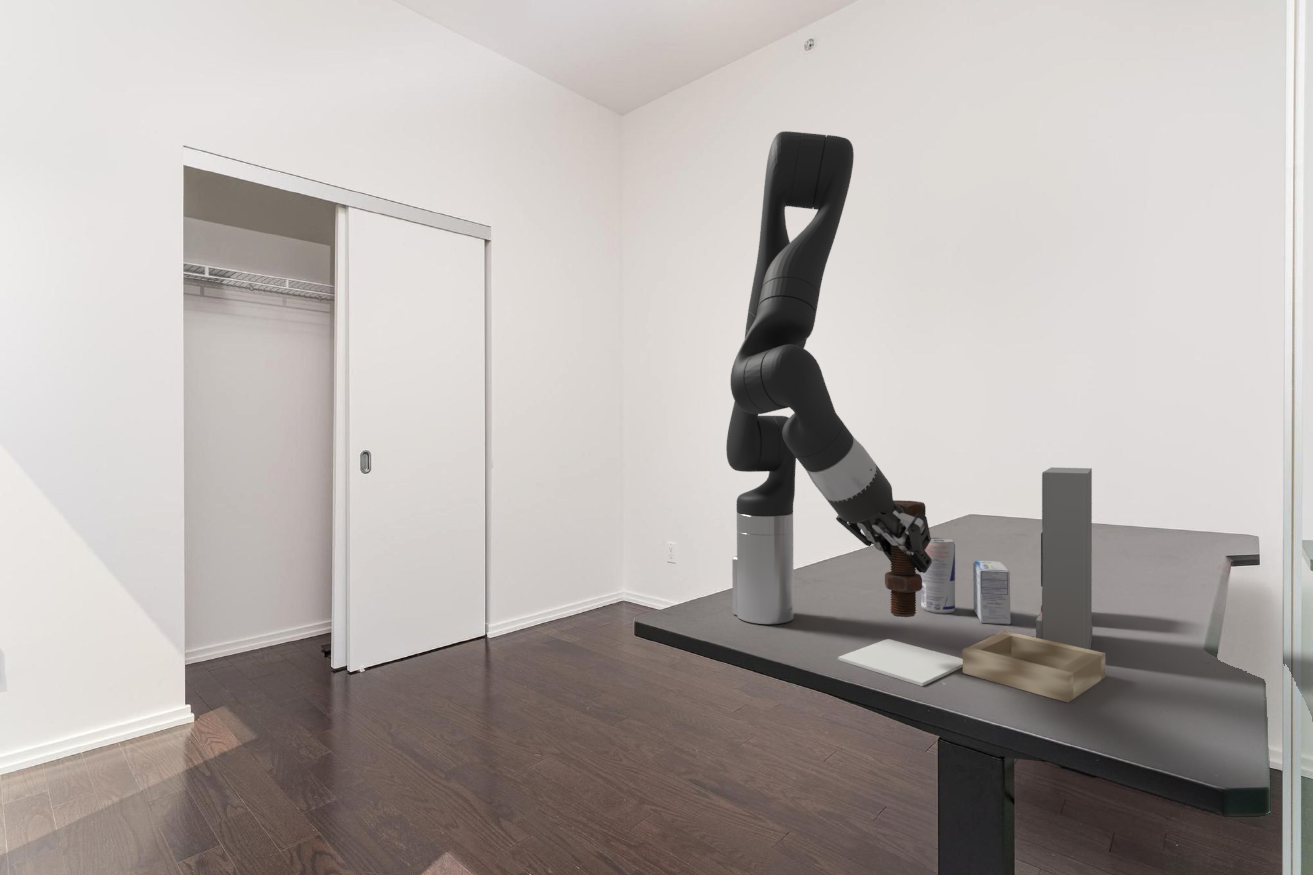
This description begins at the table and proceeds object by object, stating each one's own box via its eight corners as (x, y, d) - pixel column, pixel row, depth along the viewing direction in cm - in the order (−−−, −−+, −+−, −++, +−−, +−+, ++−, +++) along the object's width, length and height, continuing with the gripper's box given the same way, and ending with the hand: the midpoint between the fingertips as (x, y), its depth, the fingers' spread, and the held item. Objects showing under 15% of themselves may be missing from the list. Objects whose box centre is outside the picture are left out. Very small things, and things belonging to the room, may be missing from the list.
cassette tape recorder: (1044, 629, 102) (1045, 467, 102) (1092, 636, 99) (1092, 468, 98) (1035, 654, 91) (1035, 472, 91) (1088, 663, 87) (1088, 473, 87)
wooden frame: (962, 672, 84) (962, 649, 84) (1004, 652, 92) (1004, 630, 92) (1068, 702, 75) (1068, 676, 75) (1105, 677, 82) (1105, 653, 82)
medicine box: (1010, 625, 104) (1010, 570, 104) (979, 623, 106) (979, 569, 106) (1002, 612, 112) (1002, 561, 112) (972, 610, 113) (972, 559, 113)
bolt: (927, 622, 85) (927, 504, 85) (886, 620, 86) (886, 503, 86) (919, 610, 90) (919, 500, 90) (880, 608, 91) (880, 499, 91)
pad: (838, 659, 89) (838, 656, 89) (887, 641, 97) (887, 638, 97) (922, 686, 80) (922, 682, 80) (969, 663, 87) (969, 660, 87)
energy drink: (957, 608, 114) (957, 538, 114) (952, 615, 110) (952, 543, 110) (924, 604, 117) (924, 536, 117) (918, 611, 113) (918, 540, 113)
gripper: (907, 456, 78) (974, 551, 84) (823, 454, 90) (886, 537, 96) (876, 504, 76) (946, 598, 81) (793, 494, 88) (859, 577, 94)
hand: (913, 564), depth 89 cm, fingers closed on bolt, 3 cm apart
